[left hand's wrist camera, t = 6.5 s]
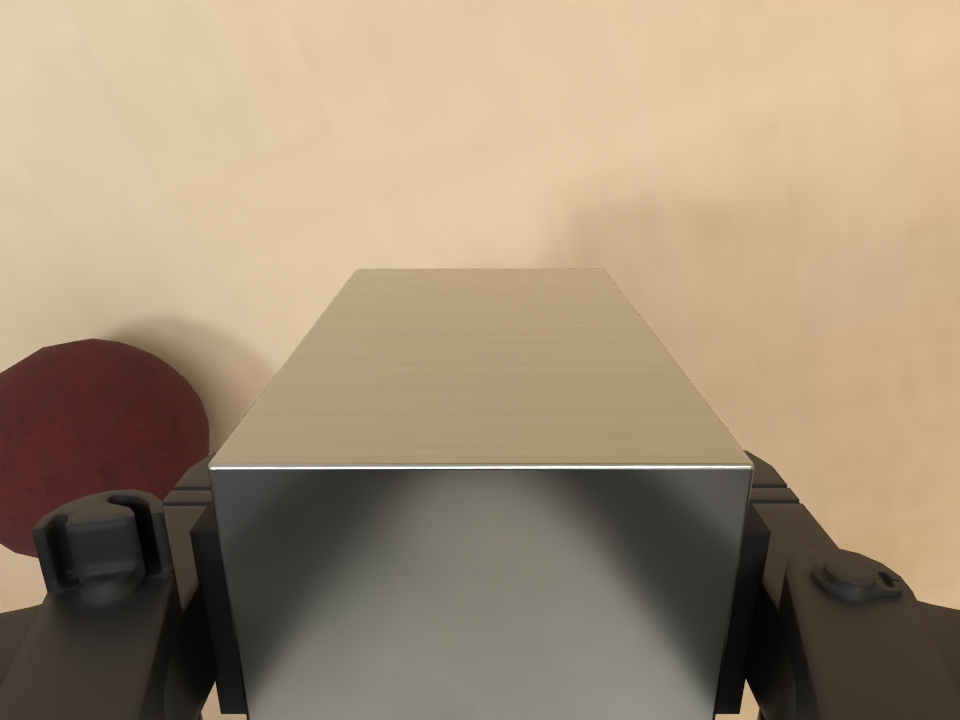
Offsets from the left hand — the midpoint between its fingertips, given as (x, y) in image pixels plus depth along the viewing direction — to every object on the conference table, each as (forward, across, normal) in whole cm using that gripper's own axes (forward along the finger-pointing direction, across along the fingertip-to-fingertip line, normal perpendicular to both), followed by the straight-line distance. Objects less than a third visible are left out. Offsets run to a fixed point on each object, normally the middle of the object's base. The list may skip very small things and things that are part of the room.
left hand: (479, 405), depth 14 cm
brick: (+1, 0, 0) cm, 1 cm away
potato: (+12, -14, -5) cm, 19 cm away
